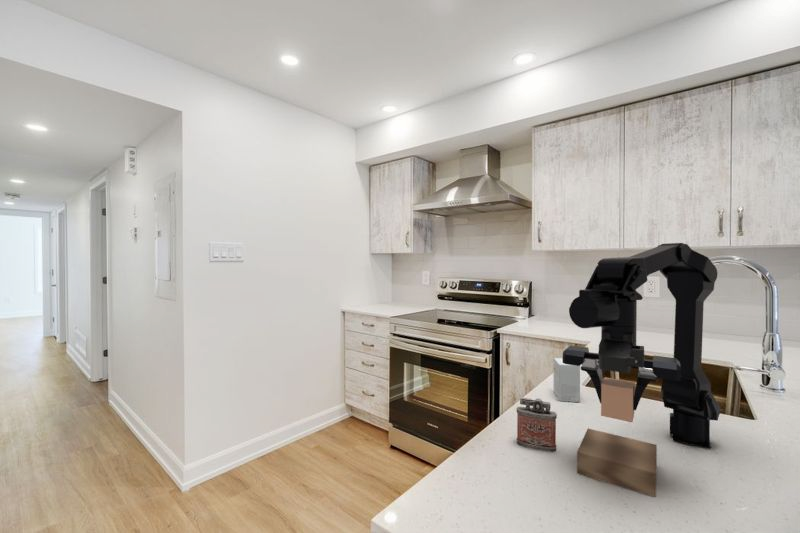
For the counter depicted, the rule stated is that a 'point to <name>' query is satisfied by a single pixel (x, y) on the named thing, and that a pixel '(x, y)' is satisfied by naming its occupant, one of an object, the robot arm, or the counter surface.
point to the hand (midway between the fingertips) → (617, 406)
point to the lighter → (536, 425)
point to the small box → (566, 381)
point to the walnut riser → (618, 461)
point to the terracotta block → (617, 399)
